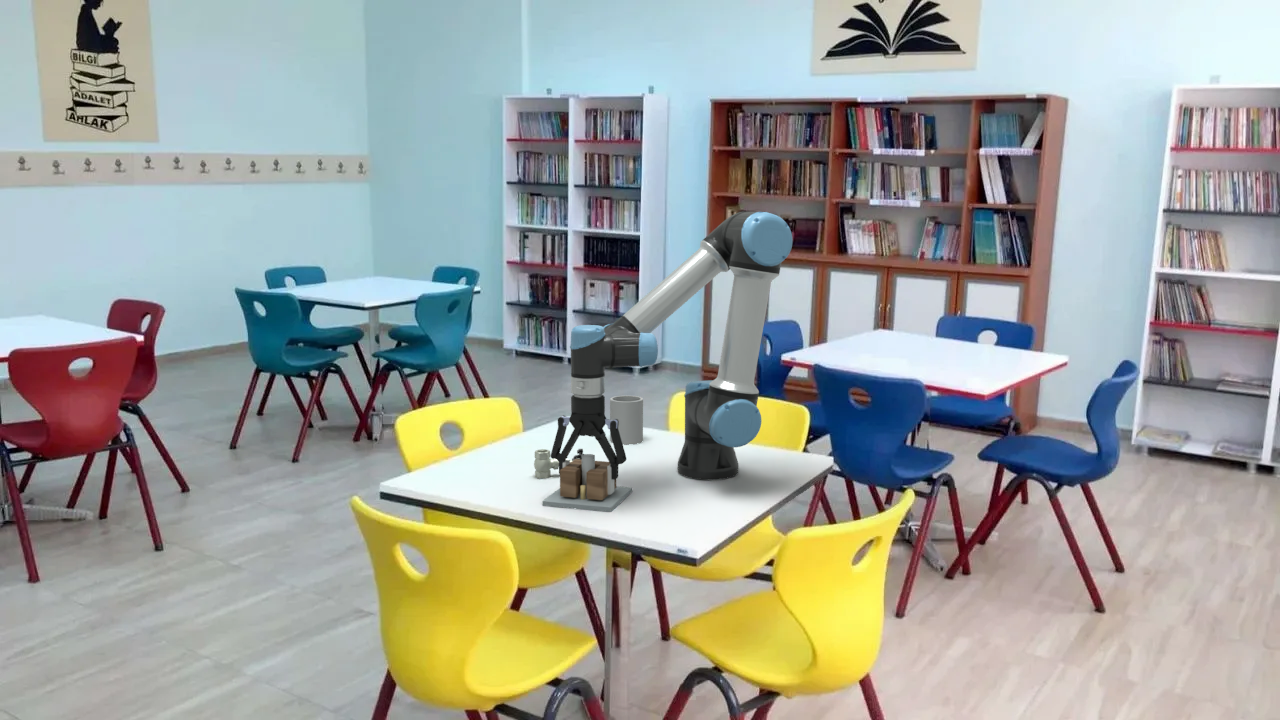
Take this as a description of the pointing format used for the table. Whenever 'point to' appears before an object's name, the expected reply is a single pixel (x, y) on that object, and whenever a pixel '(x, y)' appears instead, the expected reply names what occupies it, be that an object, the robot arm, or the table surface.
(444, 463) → the table surface
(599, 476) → the brown u-shaped block
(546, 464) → the valve
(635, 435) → the cup
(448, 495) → the table surface
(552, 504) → the post board
